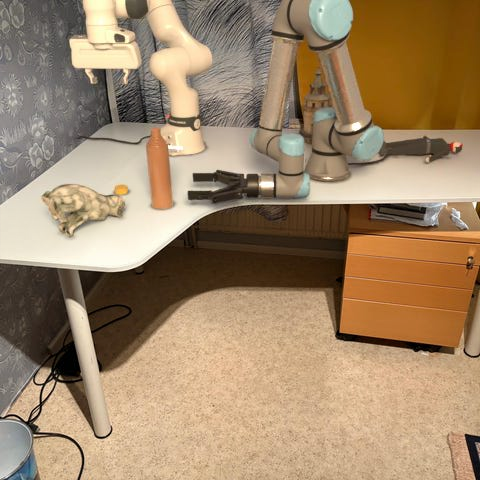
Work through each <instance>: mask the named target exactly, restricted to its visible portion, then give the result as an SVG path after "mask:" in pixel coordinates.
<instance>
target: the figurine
mask: <svg viewBox="0 0 480 480" xmlns="http://www.w3.org/2000/svg"><path fill="white" fill-rule="evenodd" d="M40 200H41V201H42V202H43V204H44V205H46V206H47V207H48V211H49V213H50V215H52V216H51V217H52V219H53V220H55V221H59V223H60V224H59V225H58V226H57V228H58V230H59V232H60V233H61V234H64V233H65V234H66V236H67V237H69V238H71V237H73V235H74V230H75V229H77V228H78V227H79V226H81V225H82V224H84V223H86V222H87V221H89V220H91V221H101V220H102V221H104V220H105V219H106V218H107V217H108V215H110V216H112V217H119V218H121V217H123V211H124V209H125V208H126V202H125V201H126V199H125V198H124V197H123V196H121V195H118V194H114V193H113V194H112V193H111V194H101V193H99V192H98V191H96V190H94V189H93V188H90V187H88V186H85V185H81V184H78V183H77V184H76V183H64V184H60V185H58V186H56V187H54V188H52V190H51V191H50V190H46V191H45V192H44V193H43V194H42V195H41V196H40ZM66 214H67V215H66Z"/></svg>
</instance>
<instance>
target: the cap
mask: <svg viewBox="0 0 480 480" xmlns="http://www.w3.org/2000/svg"><path fill="white" fill-rule="evenodd" d="M128 188H129V187H128V185H127V184H117V185H115V186H114V193H115V195H118V196H121V195H126V194H128V192H129V189H128Z"/></svg>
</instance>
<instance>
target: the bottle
mask: <svg viewBox="0 0 480 480" xmlns="http://www.w3.org/2000/svg"><path fill="white" fill-rule="evenodd" d="M149 131H150V135H151V136H150V135H149V136H150V138H148V140H147V141H146V144H145V150H146V161H147V171H148V178H149V180H148V181H149V189H150V199H151V206H152V208H153V209H156V210H166V209H170V208H171V207H173V206H174V198H173V186H172V174H171V163H170V162H171V161H170V155H169V149H168V143H167V141H166V140H165V139H164V138H163V137H162V135H161V127H159V126H153V127H151V128H150V130H149Z"/></svg>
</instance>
